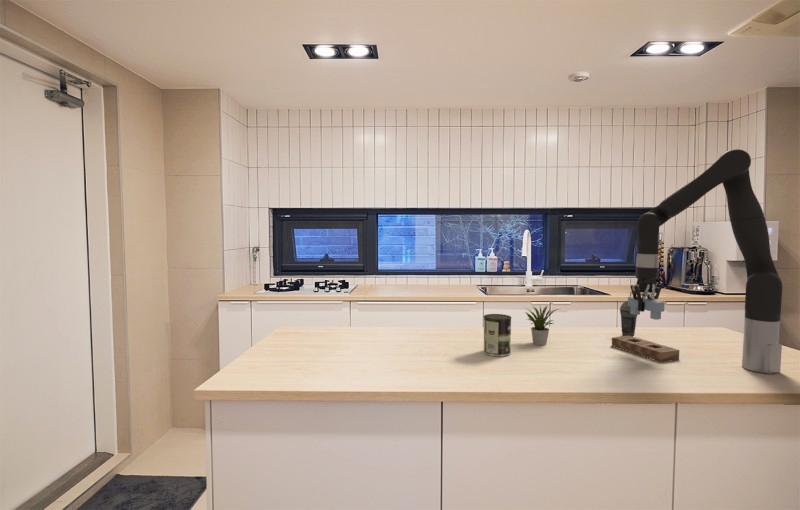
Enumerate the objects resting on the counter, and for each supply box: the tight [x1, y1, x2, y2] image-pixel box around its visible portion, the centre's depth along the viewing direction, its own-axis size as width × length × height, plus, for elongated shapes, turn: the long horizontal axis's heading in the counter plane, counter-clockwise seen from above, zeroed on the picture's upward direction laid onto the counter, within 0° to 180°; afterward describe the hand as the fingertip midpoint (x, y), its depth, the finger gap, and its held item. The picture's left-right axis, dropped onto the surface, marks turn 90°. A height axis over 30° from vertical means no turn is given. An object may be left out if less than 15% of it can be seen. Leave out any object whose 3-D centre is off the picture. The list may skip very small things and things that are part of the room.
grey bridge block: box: [627, 296, 666, 321], centre depth 167 cm, size 13×4×6 cm, turn 20°
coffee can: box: [482, 313, 512, 358], centre depth 167 cm, size 10×10×14 cm
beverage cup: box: [619, 291, 638, 337], centre depth 191 cm, size 7×7×20 cm
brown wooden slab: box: [611, 335, 680, 363], centre depth 168 cm, size 22×9×4 cm, turn 20°
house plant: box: [525, 304, 560, 346], centre depth 181 cm, size 14×14×16 cm
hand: (645, 310), depth 167 cm, fingers closed on grey bridge block, 3 cm apart
